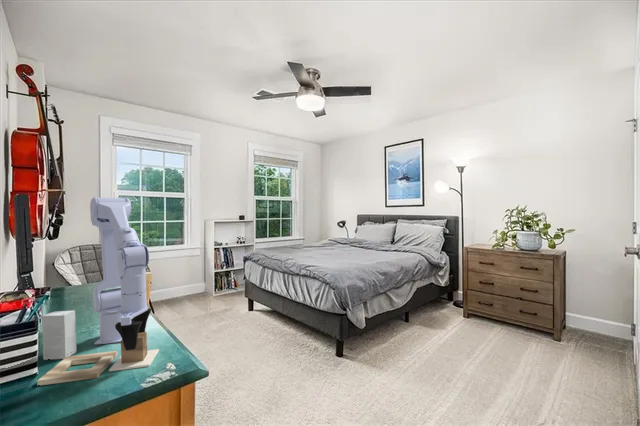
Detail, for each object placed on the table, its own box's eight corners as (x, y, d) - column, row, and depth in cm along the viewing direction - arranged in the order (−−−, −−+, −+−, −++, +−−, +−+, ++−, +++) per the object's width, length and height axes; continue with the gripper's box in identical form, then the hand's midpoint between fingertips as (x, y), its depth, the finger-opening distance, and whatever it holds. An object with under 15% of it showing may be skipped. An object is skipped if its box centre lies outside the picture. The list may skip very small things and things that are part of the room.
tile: (123, 355, 85) (123, 353, 85) (158, 350, 87) (158, 349, 87) (109, 371, 76) (109, 369, 76) (149, 366, 78) (149, 364, 78)
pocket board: (66, 361, 82) (66, 356, 82) (117, 355, 85) (117, 350, 85) (37, 385, 70) (37, 380, 70) (97, 377, 73) (97, 372, 73)
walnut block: (126, 356, 82) (125, 334, 82) (147, 353, 84) (146, 332, 84) (121, 363, 79) (120, 340, 79) (143, 360, 80) (142, 337, 80)
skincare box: (77, 352, 87) (76, 310, 87) (65, 359, 83) (64, 315, 83) (55, 353, 87) (54, 310, 87) (42, 360, 83) (40, 315, 82)
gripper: (125, 286, 87) (126, 334, 87) (105, 301, 73) (107, 357, 73) (153, 284, 89) (154, 331, 89) (139, 298, 75) (140, 353, 75)
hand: (135, 343), depth 81 cm, fingers open, 7 cm apart
